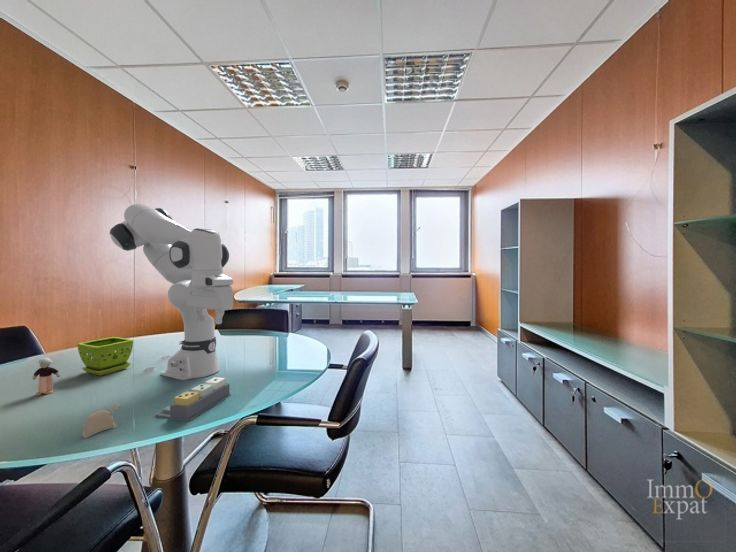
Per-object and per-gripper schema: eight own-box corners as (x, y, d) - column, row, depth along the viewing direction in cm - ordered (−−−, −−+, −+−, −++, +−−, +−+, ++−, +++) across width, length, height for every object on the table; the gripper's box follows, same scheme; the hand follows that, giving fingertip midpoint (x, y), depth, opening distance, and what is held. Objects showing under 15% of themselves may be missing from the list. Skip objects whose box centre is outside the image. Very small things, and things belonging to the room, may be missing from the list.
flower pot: (97, 379, 120) (95, 347, 119) (77, 374, 125) (75, 343, 124) (135, 367, 133) (134, 338, 132) (115, 363, 138) (114, 335, 137)
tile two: (191, 400, 96) (190, 388, 96) (201, 394, 100) (201, 383, 100) (202, 401, 95) (202, 390, 95) (213, 395, 99) (212, 384, 99)
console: (155, 416, 91) (155, 403, 91) (201, 391, 108) (201, 380, 108) (188, 421, 88) (188, 407, 88) (230, 394, 105) (230, 383, 105)
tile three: (174, 409, 90) (174, 396, 90) (186, 402, 94) (186, 390, 94) (187, 410, 89) (186, 398, 89) (198, 403, 93) (198, 392, 93)
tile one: (205, 392, 102) (205, 381, 101) (215, 386, 106) (214, 376, 106) (216, 393, 101) (216, 382, 100) (225, 388, 105) (225, 377, 105)
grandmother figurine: (28, 397, 103) (26, 360, 103) (34, 393, 107) (32, 357, 106) (59, 393, 107) (57, 357, 106) (63, 388, 110) (62, 354, 110)
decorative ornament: (79, 434, 82) (78, 414, 81) (118, 420, 88) (117, 402, 88) (84, 439, 79) (83, 419, 79) (123, 425, 86) (122, 406, 86)
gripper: (179, 279, 99) (181, 321, 100) (217, 280, 89) (219, 327, 89) (199, 278, 105) (200, 318, 105) (236, 279, 94) (237, 323, 95)
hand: (209, 322), depth 97 cm, fingers open, 8 cm apart
